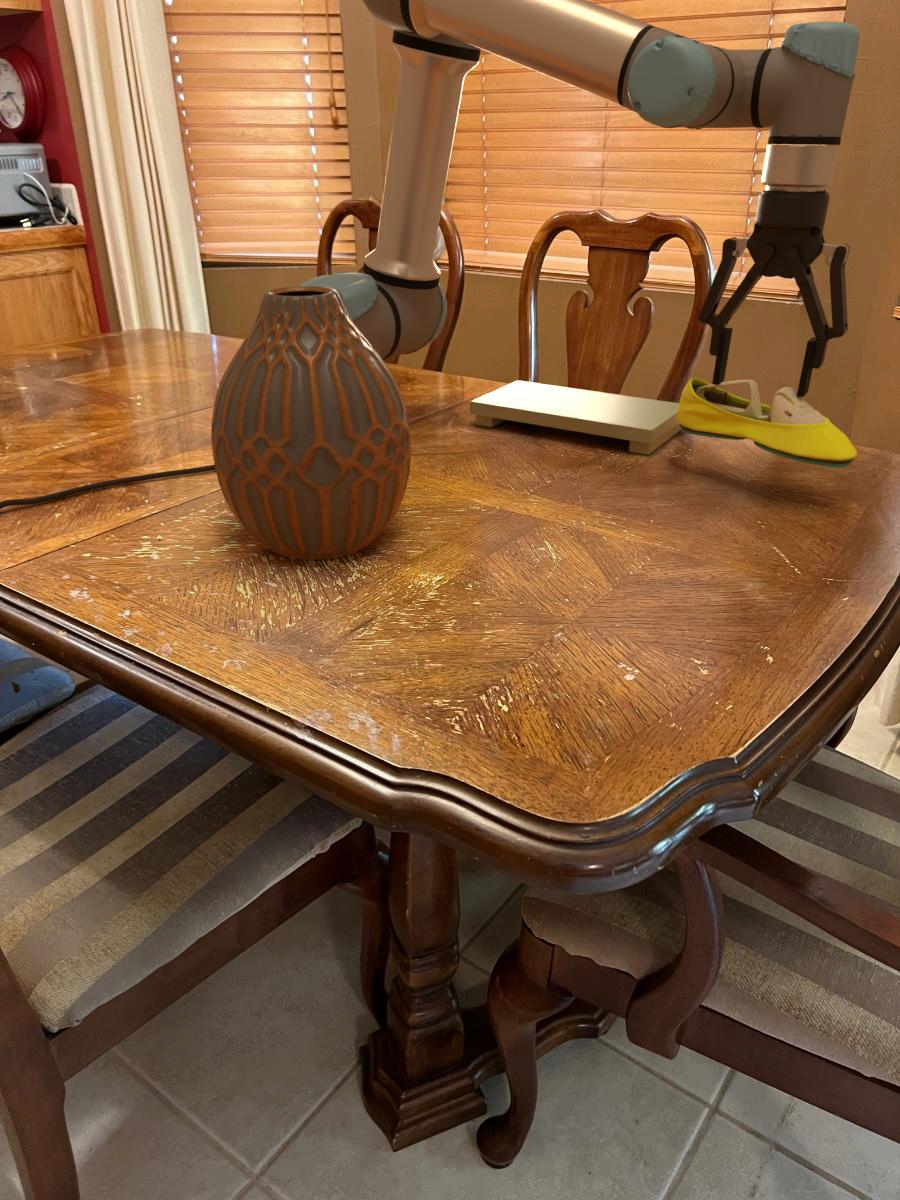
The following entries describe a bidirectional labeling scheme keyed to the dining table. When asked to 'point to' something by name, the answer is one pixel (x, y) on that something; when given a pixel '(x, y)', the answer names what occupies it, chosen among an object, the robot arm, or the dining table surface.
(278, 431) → the vase
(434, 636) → the dining table surface
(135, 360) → the dining table surface
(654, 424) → the low footed display riser
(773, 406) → the ballet flat
